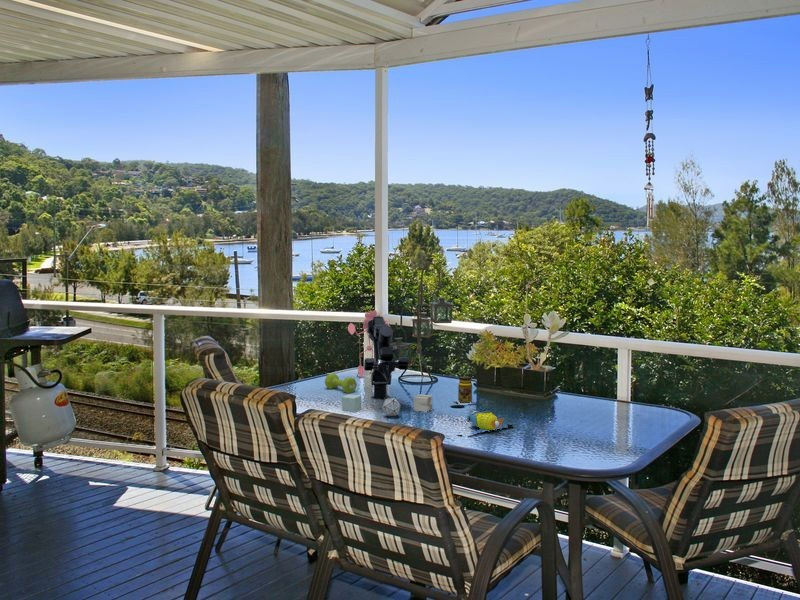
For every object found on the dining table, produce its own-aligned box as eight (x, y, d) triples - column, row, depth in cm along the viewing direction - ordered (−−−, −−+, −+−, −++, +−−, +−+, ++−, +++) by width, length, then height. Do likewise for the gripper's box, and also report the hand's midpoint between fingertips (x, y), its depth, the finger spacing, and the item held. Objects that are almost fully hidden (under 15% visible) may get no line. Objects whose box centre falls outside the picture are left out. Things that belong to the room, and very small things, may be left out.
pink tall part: (343, 378, 387) (344, 310, 384) (380, 371, 405) (381, 307, 401) (363, 383, 377) (364, 313, 373) (400, 376, 394) (401, 310, 391)
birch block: (419, 408, 325) (419, 394, 325) (432, 409, 323) (432, 395, 322) (413, 411, 320) (413, 397, 319) (426, 412, 317) (426, 398, 317)
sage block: (349, 407, 325) (349, 394, 324) (361, 409, 322) (361, 395, 321) (341, 410, 319) (341, 397, 319) (354, 412, 317) (354, 398, 316)
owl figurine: (470, 418, 275) (444, 411, 288) (470, 442, 276) (444, 433, 288) (525, 408, 291) (498, 401, 304) (525, 430, 292) (498, 422, 304)
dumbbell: (358, 392, 356) (358, 377, 355) (345, 394, 350) (345, 379, 350) (336, 386, 368) (335, 372, 367) (323, 389, 362) (323, 374, 361)
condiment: (461, 406, 329) (461, 379, 328) (452, 401, 337) (453, 375, 335) (476, 404, 332) (476, 377, 330) (467, 400, 339) (467, 374, 338)
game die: (394, 426, 309) (399, 410, 302) (375, 418, 310) (380, 402, 304) (402, 411, 316) (407, 396, 309) (383, 403, 317) (388, 387, 310)
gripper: (364, 339, 319) (367, 370, 309) (408, 338, 322) (412, 369, 312) (362, 354, 327) (365, 385, 318) (405, 354, 330) (409, 384, 320)
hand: (388, 380), depth 317 cm, fingers closed
